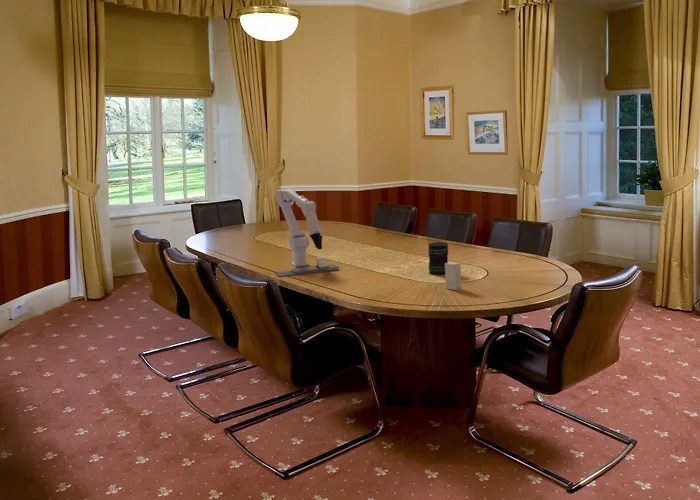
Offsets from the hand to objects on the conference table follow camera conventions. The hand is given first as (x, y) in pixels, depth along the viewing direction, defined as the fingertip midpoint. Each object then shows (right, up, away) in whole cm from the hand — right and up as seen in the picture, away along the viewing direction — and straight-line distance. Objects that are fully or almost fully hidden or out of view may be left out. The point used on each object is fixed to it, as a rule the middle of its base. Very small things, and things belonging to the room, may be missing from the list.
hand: (319, 248), depth 361 cm
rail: (-2, -12, +3) cm, 12 cm away
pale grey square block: (+1, -12, +4) cm, 12 cm away
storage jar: (+61, -13, -13) cm, 64 cm away
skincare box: (+63, -19, -46) cm, 80 cm away
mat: (-17, -13, -2) cm, 22 cm away
